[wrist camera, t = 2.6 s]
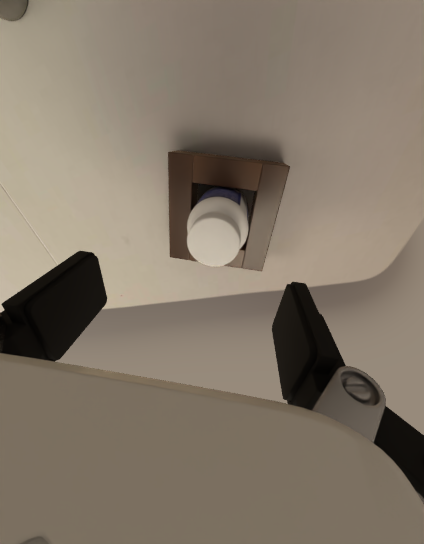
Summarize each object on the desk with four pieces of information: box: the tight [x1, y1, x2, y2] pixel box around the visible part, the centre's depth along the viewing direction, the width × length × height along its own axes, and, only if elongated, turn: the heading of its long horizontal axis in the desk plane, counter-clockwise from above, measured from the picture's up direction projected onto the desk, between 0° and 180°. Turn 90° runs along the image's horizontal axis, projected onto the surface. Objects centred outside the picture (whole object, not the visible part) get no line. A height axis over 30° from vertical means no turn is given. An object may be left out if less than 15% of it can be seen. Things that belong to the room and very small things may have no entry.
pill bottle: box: [187, 186, 249, 267], centre depth 19 cm, size 5×5×9 cm
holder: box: [168, 150, 290, 271], centre depth 21 cm, size 10×10×3 cm
